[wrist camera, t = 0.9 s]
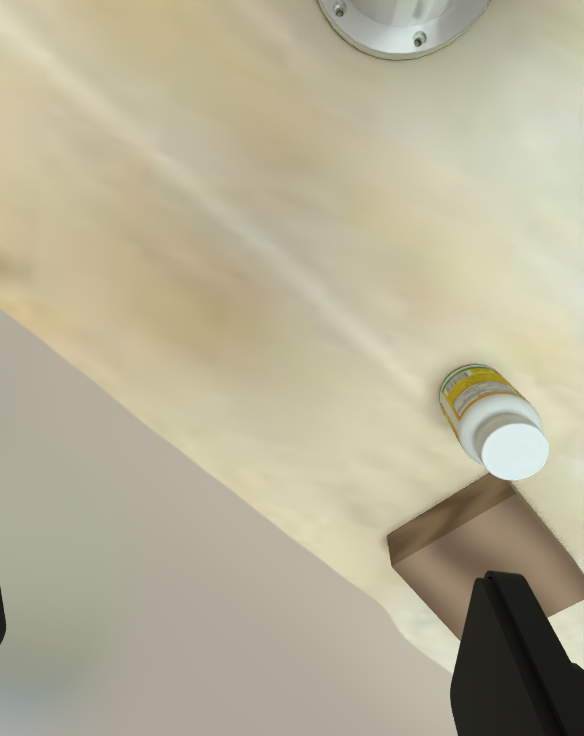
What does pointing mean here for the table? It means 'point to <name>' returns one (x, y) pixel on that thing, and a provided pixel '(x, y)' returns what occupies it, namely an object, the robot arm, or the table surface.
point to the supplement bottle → (494, 422)
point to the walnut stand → (482, 551)
